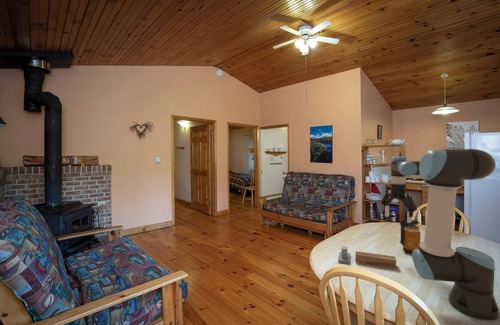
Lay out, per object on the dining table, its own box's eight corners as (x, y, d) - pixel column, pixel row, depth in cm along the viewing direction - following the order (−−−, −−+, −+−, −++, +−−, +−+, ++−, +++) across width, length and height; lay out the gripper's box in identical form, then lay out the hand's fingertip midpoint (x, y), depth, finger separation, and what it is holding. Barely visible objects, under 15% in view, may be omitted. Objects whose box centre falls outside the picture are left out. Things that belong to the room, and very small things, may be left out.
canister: (422, 254, 148) (423, 222, 146) (402, 253, 150) (403, 221, 149) (416, 248, 156) (416, 218, 155) (396, 247, 159) (397, 217, 157)
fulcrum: (349, 264, 138) (349, 252, 138) (338, 262, 140) (338, 250, 140) (350, 255, 149) (350, 244, 148) (339, 253, 151) (339, 243, 151)
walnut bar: (396, 269, 132) (396, 260, 131) (355, 262, 140) (355, 254, 140) (394, 265, 136) (394, 256, 136) (355, 259, 145) (355, 251, 144)
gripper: (425, 185, 133) (424, 224, 134) (383, 180, 155) (382, 213, 157) (416, 186, 130) (415, 226, 131) (374, 181, 152) (374, 215, 154)
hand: (397, 219), depth 144 cm, fingers open, 13 cm apart
